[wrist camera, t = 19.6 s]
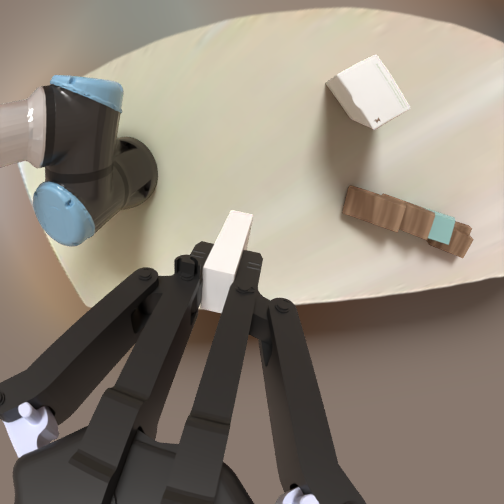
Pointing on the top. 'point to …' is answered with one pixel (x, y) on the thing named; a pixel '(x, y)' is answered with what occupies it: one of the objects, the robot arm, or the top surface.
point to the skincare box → (368, 93)
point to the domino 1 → (374, 208)
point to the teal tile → (441, 227)
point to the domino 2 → (415, 219)
